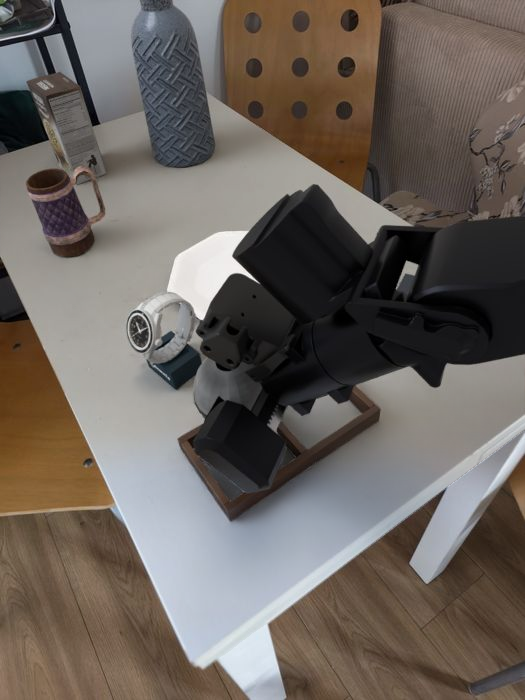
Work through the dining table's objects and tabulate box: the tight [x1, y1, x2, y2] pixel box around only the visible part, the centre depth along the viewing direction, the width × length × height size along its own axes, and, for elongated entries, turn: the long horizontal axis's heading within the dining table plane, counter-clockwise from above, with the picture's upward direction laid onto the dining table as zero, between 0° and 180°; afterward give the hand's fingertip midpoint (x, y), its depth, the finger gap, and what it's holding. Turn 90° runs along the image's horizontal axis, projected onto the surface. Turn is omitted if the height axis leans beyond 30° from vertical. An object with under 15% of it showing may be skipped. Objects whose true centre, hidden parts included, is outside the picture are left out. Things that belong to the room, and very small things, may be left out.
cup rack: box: [177, 385, 382, 522], centre depth 55 cm, size 10×19×2 cm, turn 125°
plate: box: [166, 230, 260, 322], centre depth 74 cm, size 20×20×2 cm
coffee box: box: [25, 71, 107, 185], centre depth 93 cm, size 9×6×16 cm
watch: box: [125, 291, 203, 391], centre depth 60 cm, size 6×8×11 cm
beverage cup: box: [192, 357, 262, 420], centre depth 47 cm, size 7×7×20 cm
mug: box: [25, 165, 106, 258], centre depth 79 cm, size 10×7×12 cm
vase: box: [130, 0, 216, 168], centre depth 91 cm, size 12×12×28 cm
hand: (222, 398), depth 48 cm, fingers closed on beverage cup, 7 cm apart
